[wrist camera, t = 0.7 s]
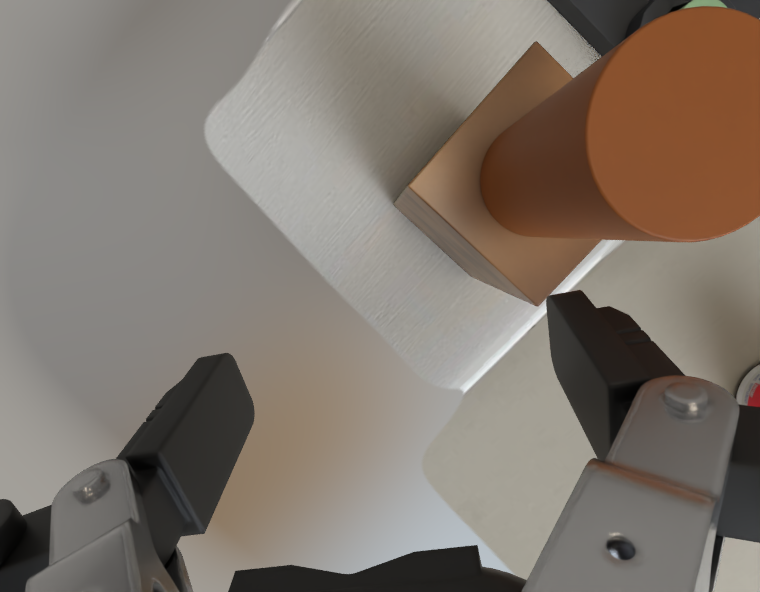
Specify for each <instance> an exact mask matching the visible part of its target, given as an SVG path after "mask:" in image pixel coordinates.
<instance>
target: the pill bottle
mask: <svg viewBox="0 0 760 592" xmlns="http://www.w3.org/2000/svg"><path fill="white" fill-rule="evenodd" d="M736 401H737V402H738V404H741V405H746V406H755V407H760V365H758V366H756V367H755V368H753V369H752V370H751V371H750V372H749V373H748V374H747V375H746V376H745V378H744V379H743V381H742V382H741V384H740V386H739V389H738V392H737V397H736Z"/></svg>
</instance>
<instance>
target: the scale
mask: <svg viewBox="0 0 760 592" xmlns="http://www.w3.org/2000/svg"><path fill="white" fill-rule="evenodd" d="M548 1H549V2H550V3H551V4H552V5H553V6H554V7H555V8H556V9H557V10H558V11H559V12H560V13H561V14H562V15H563V16H564V17H565V18H566V19H567V20H568V21H569V22H570V23H571V24H572V26H573V27H574V28H575V29H576V30H577V31H578V32H579V33H580V34H581V35H582V36H583V37H584V38H585V39H586V40H587V41H588V42H589V43H590V44H591V45H592V46H593V47H594V48H595V49H596V50H597V51H598V52H599V53H600V54H601V55H602V56H604V55H605V54H606V53H608V52H609V51H610V50H612V49H613V48H614V47H616V46H617V45H618V44H620V43H621V42H622V41H624V40H625V39H626V38H627V37H629V36H630V35H631V34H633V33H634V32H635V31H637V30H638V29H639V28H641V27H642V26H644V25H645V24H647V23H649V22H650V21H652V20H654V19H656V18H658V17H660V16H663V15H665V14H668V13H670V12H673V11H677V10H679V9H681V8H682V7H684V6H685V5H686V4H688V3H689V2H691V1H692V0H548ZM719 1H721V2H722V3H724V4H725V5H726V7H727V8H730V9H735V10H738V11H741V12H744V13H747V14H749V15H751V16H753V17H755V18H757V19H759V18H760V0H719Z"/></svg>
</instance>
